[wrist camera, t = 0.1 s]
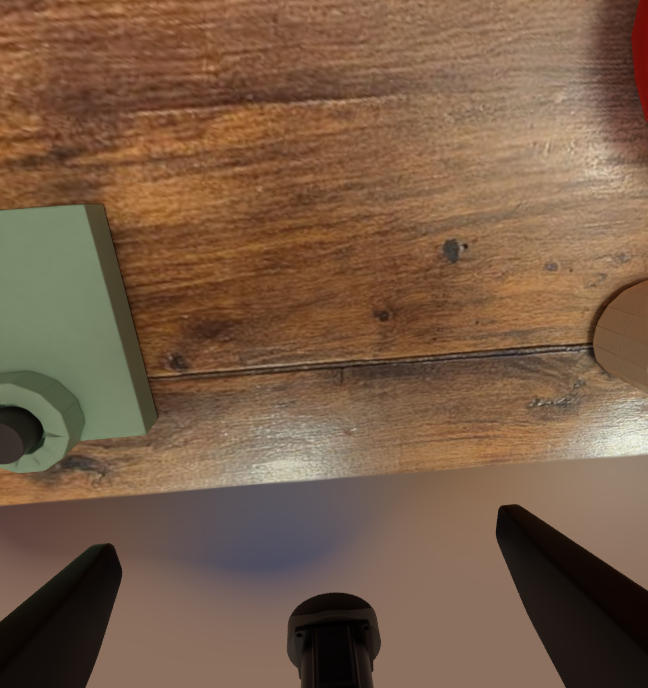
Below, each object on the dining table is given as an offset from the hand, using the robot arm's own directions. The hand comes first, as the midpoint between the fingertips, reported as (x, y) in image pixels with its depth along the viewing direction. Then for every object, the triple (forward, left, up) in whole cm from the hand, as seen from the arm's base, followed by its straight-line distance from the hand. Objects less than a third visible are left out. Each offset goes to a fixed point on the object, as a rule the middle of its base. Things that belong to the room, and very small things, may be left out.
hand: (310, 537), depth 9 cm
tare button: (-3, +16, -12) cm, 20 cm away
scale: (+2, +16, -15) cm, 22 cm away
